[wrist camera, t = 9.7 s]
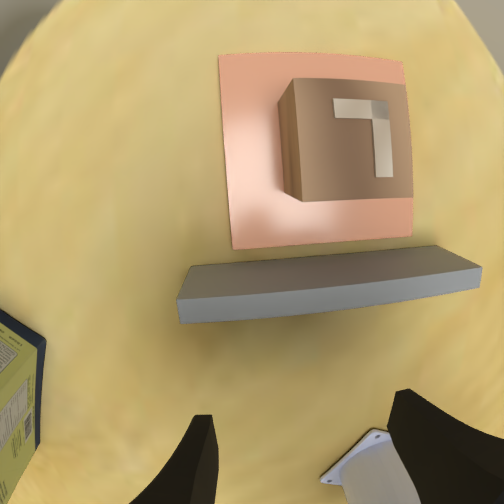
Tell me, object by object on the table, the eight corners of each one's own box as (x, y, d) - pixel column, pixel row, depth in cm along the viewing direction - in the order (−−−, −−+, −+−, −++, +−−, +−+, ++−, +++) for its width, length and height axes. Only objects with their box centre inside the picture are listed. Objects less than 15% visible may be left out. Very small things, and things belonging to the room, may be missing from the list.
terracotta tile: (397, 64, 16) (402, 61, 15) (407, 234, 19) (412, 236, 18) (219, 58, 16) (218, 55, 15) (232, 247, 18) (232, 250, 18)
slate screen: (436, 245, 19) (482, 267, 14) (435, 262, 19) (479, 287, 15) (191, 266, 19) (176, 299, 14) (193, 285, 19) (180, 324, 14)
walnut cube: (364, 103, 16) (407, 83, 11) (369, 188, 17) (414, 198, 12) (277, 102, 16) (293, 76, 11) (284, 192, 17) (303, 202, 12)
